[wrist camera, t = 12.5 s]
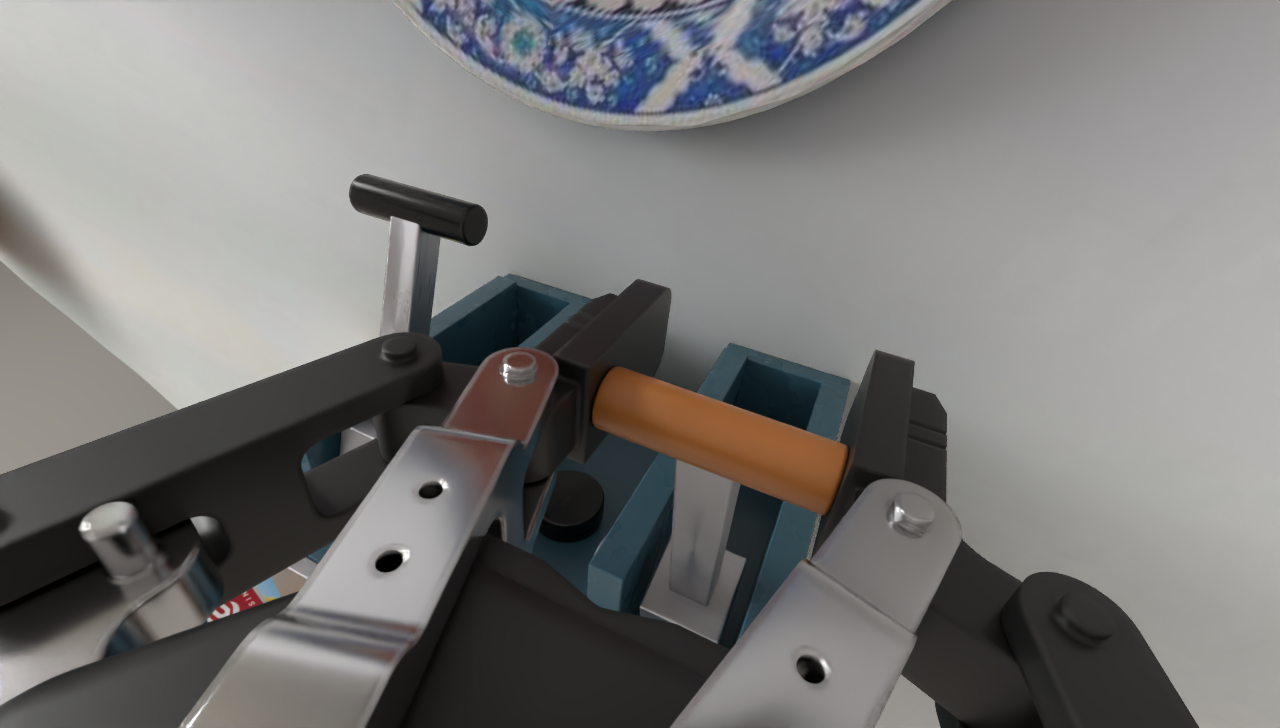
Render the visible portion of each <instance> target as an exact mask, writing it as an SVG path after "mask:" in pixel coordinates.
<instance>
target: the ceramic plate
mask: <svg viewBox="0 0 1280 728" xmlns="http://www.w3.org/2000/svg"><path fill="white" fill-rule="evenodd" d="M392 1H393V2H394V3H395V5H396V6H397V7H398V8H399V9H400V10H401V11H402V12H403V14H404V15H405V16H406V17H407V18H408V19H409V20H410V21H411V22H412V23H413V24H414V25H415V26H416V27H417V28H418V29H419V30H420V31H421V32H422V33H423V34H424V35H425V36H426V37H427V38H428V39H430V40H431V41H432V42H433V43H434V44H435V45H436V46H437V47H438V48H439V49H440V50H442V51H443V52H444V53H445V54H447V55H448V56H449V57H450V58H452V59H453V60H454V61H455V62H457V63H458V64H459V65H460V66H462V67H463V68H464V69H466V70H467V71H469V72H470V73H472V74H473V75H475V76H476V77H478V78H479V79H481V80H482V81H484V82H485V83H487V84H488V85H490V86H491V87H493V88H494V89H496V90H498V91H500V92H502V93H504V94H506V95H508V96H510V97H512V98H514V99H515V100H517V101H519V102H521V103H523V104H525V105H528V106H530V107H533V108H535V109H538V110H540V111H543V112H546V113H548V114H551V115H553V116H556V117H560V118H563V119H567V120H571V121H574V122H578V123H582V124H585V125H591V126H597V127H604V128H610V129H616V130H632V131H667V130H681V129H692V128H697V127H703V126H708V125H714V124H719V123H724V122H729V121H733V120H736V119H739V118H743V117H746V116H749V115H753V114H756V113H760V112H763V111H766V110H769V109H772V108H774V107H777V106H779V105H782V104H784V103H786V102H789V101H791V100H794V99H796V98H798V97H801V96H803V95H806V94H808V93H811V92H813V91H815V90H816V89H818V88H820V87H822V86H824V85H825V84H827V83H829V82H831V81H833V80H834V79H836V78H838V77H840V76H842V75H843V74H845V73H847V72H849V71H851V70H852V69H854V68H856V67H858V66H860V65H861V64H863V63H865V62H867V61H868V60H870V59H871V58H873V57H874V56H876V55H878V54H879V53H881V52H882V51H884V50H885V49H887V48H888V47H890V46H892V45H893V44H895V43H896V42H898V41H899V40H901V39H902V38H904V37H905V36H907V35H908V34H909V33H910V32H912V31H913V30H914V29H916V28H917V27H918V26H920V25H921V24H922V23H923V22H925V21H926V20H927V19H929V18H930V17H931V16H932V15H934V14H935V13H936V12H938V11H939V10H940V9H941V8H943V7H944V6H945V5H947V4H948V3H949V2H951V1H952V0H392Z"/></svg>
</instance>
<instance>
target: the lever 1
mask: <svg viewBox="0 0 1280 728" xmlns="http://www.w3.org/2000/svg"><path fill="white" fill-rule="evenodd" d="M349 198H350V202H351V204H352V206H353V207H354V208H355V209H356V210H357V211H358V212H360V213H362V214H366V215H369V216H372V217H376V218H379V219H382V220H385V221H389V222H390V231H389V242H388V253H387V264H386V275H385V286H384V297H383V308H382V319H381V330H380V337H381V336H384V335H388V334H392V333H399V332H415V333H421V334H425V335H428V336H429V331H430V323H431V314H432V306H433V298H434V289H435V281H436V272H437V264H438V255H439V247H440V238H444V239H448V240H451V241H454V242H457V243H461V244H464V245H467V246H475V245H477V244H479V243H480V242H481V241H482V239H483V238H484V236H485V234H486V231H487V227H488V217H487V213H486V211H485V210H484V208H483V207H481V206H480V205H478V204H474V203H471V202H467V201H463V200H460V199H456V198H453V197H449V196H445V195H442V194H438V193H435V192H431V191H427V190H424V189H420V188H417V187H413V186H410V185H406V184H402V183H399V182H395V181H392V180H388V179H384V178H381V177H377V176H374V175H370V174H363V175H360V176H358V177H356V178H355V179H354V181H353V182H352V184H351V186H350V190H349ZM376 438H377V435H376V430H375V426H374V422H373V417H372V418H370V419H368V420H366V421H364V422H361V423H359V424H357V425H355V426H353V427H350V428H348V429H346V430H344V431H341V443H340V455H342V454H344V453H346V452H349V451H351V450H353V449H355V448H357V447H359V446H361V445H363V444H365V443H367V442H369V441H371V440H373V439H376Z"/></svg>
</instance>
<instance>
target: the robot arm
mask: <svg viewBox="0 0 1280 728" xmlns="http://www.w3.org/2000/svg"><path fill="white" fill-rule="evenodd" d="M670 304H671V290H670V288H667V287H664V286H660V285H657V284H654V283H650V282H647V281H644V280H640V279H637V280H635V281H634V282H633V283H632V284H631V285H630V286H629V287H628V288H626V289H625V290H624V291H623V292H622V293H621V294H620V295H619V296H617V295H614V294H611V293H609V294H606V295H604V296H601V297H598V298H595V299H592V300H590V301H589V302H588V303H586V304H585V305H584V306H583V307H582V308H581V309H579V310H578V312H577V314H576V313H575V314H573V315H572V316H571V317H570V318H569V319H568V320H567V322H564V323H563V324H562V325H560V326H559V327H558V328H557V329H556V330H555V331H553V332H552V333H551V334H550V335H549V336H547V337H546V338H545V339H544V340H543V341H542V342H540V343H539V344H538V345H537V346H536V347H534V348H527V347H514V348H507V349H503V350H500V351H497V352H495V353H493V354H491V355H489V356H488V357H487V358H486V359H485V360H484V361H483V362H482V363H481V365H480V366H475V365H467V364H459V363H451V362H443V361H442V353H441V347H440V344H439V343H438V342H437V341H436V340H435V339H434V338H432V337H430V336H428V335H425V334H421V333H415V332H399V333H392V334H388V335H384V336H381V337H378V338H376V339H373V340H370V341H367V342H365V343H362V344H359V345H356V346H354V347H351V348H348V349H345V350H343V351H340V352H337V353H334V354H332V355H329V356H326V357H323V358H321V359H318V360H315V361H312V362H310V363H307V364H304V365H301V366H299V367H296V368H293V369H290V370H287V371H285V372H282V373H279V374H276V375H274V376H271V377H268V378H265V379H263V380H260V381H257V382H254V383H252V384H249V385H246V386H243V387H241V388H238V389H235V390H232V391H230V392H227V393H224V394H221V395H219V396H216V397H213V398H210V399H208V400H205V401H202V402H199V403H197V404H194V405H191V406H188V407H186V408H183V409H180V410H177V411H175V412H172V413H169V414H166V415H164V416H161V417H158V418H155V419H153V420H150V421H147V422H144V423H142V424H139V425H136V426H133V427H131V428H128V429H125V430H122V431H120V432H117V433H114V434H111V435H109V436H106V437H103V438H100V439H98V440H95V441H92V442H89V443H87V444H84V445H81V446H79V447H76V448H73V449H70V450H67V451H65V452H62V453H59V454H56V455H54V456H51V457H48V458H45V459H42V460H40V461H37V462H34V463H31V464H29V465H26V466H23V467H20V468H18V469H15V470H12V471H9V472H7V473H4V474H1V475H0V728H874V727H875V725H876V723H877V721H878V719H879V717H880V715H881V713H882V711H883V709H884V707H885V705H886V703H887V701H888V699H889V697H890V695H891V693H892V691H893V689H894V687H895V685H896V683H897V680H898V678H899V676H900V674H902V675H903V676H904V677H905V678H907V679H908V680H909V681H910V682H912V683H913V684H914V685H916V686H917V687H918V688H919V689H921V690H922V691H923V692H924V693H926V694H927V695H928V696H929V697H931V698H932V699H933V700H935V707H936V712H937V716H938V720H939V723H940V727H941V728H1199V726H1198V725H1197V723H1196V722H1195V720H1194V718H1193V717H1192V715H1191V713H1190V712H1189V710H1188V709H1187V707H1186V705H1185V704H1184V702H1183V701H1182V699H1181V697H1180V696H1179V694H1178V692H1177V691H1176V689H1175V688H1174V686H1173V684H1172V683H1171V681H1170V680H1169V678H1168V676H1167V675H1166V673H1165V671H1164V670H1163V668H1162V667H1161V665H1160V663H1159V662H1158V660H1157V659H1156V657H1155V655H1154V654H1153V652H1152V651H1151V649H1150V647H1149V646H1148V644H1147V642H1146V641H1145V639H1144V638H1143V636H1142V634H1141V633H1140V631H1139V630H1138V628H1137V627H1136V625H1135V624H1134V623H1133V621H1132V620H1131V619H1130V618H1129V617H1128V615H1127V614H1126V613H1125V612H1124V611H1123V610H1122V609H1121V608H1120V607H1119V606H1118V605H1117V604H1115V603H1114V602H1113V601H1112V600H1110V599H1109V598H1108V597H1107V596H1105V595H1104V594H1102V593H1101V592H1099V591H1098V590H1097V589H1095V588H1093V587H1091V586H1090V585H1088V584H1086V583H1084V582H1082V581H1080V580H1077V579H1075V578H1072V577H1070V576H1067V575H1063V574H1059V573H1053V572H1038V573H1035V574H1032V575H1030V576H1028V577H1027V578H1026V579H1025V580H1024V581H1023V582H1021V581H1019V580H1018V579H1016V578H1014V577H1013V576H1011V575H1010V574H1008V573H1006V572H1005V571H1003V570H1002V569H1000V568H998V567H997V566H995V565H994V564H992V563H990V562H989V561H987V560H986V559H984V558H983V557H982V556H980V555H979V554H978V553H976V552H975V551H974V550H973V549H971V548H970V547H969V546H968V545H967V544H966V543H965V542H964V541H963V540H962V528H961V524H960V522H959V520H958V518H957V516H956V515H955V513H954V512H953V510H952V509H951V508H950V507H949V506H948V505H947V504H946V463H947V450H946V447H947V435H946V432H947V413H946V411H945V410H944V408H943V406H942V405H941V403H940V401H939V400H938V398H937V397H936V395H935V394H933V393H929V392H926V391H923V390H920V389H916V388H913V387H912V386H913V376H914V365H915V362H914V361H912V360H909V359H905V358H902V357H899V356H895V355H892V354H889V353H885V352H882V351H879V350H875V351H874V353H873V355H872V358H871V360H870V362H869V365H868V367H867V370H866V372H865V375H864V377H863V380H862V382H861V385H860V387H859V390H858V392H857V395H856V397H855V400H854V402H853V405H852V407H851V410H850V413H849V415H848V418H847V421H846V424H845V427H844V430H843V433H842V436H841V440H840V443H842V444H845V445H847V446H848V447H849V455H848V460H847V464H846V467H845V471H844V474H843V477H842V480H841V483H840V486H839V489H838V492H837V495H836V497H835V500H834V502H833V505H832V507H831V509H830V511H829V512H828V513H827V515H822V516H821V520H820V524H819V528H818V532H817V536H816V540H815V544H814V548H813V552H812V556H811V560H810V561H809V560H807V559H806V558H805V559H803V560H802V561H801V562H799V564H798V565H797V566H796V567H795V568H794V569H793V571H792V572H791V573H790V574H789V576H788V577H787V578H786V580H785V581H784V582H783V583H782V585H781V586H780V587H779V589H778V590H777V591H776V592H775V594H774V595H773V596H772V597H771V599H770V600H769V601H768V603H767V604H766V605H765V606H764V608H763V609H762V610H761V612H760V613H759V614H758V615H757V617H756V618H755V619H754V620H753V622H752V623H751V624H750V626H749V627H748V628H747V629H746V631H745V632H744V633H743V635H742V636H741V637H740V638H739V640H738V641H737V642H736V643H735V645H734V646H733V647H732V649H731V650H730V649H728V648H726V647H724V646H721V645H719V644H717V643H715V642H713V641H711V640H709V639H707V638H705V637H703V636H701V635H699V634H696V633H694V632H692V631H690V630H688V629H686V628H684V627H682V626H680V625H678V624H675V623H671V622H666V621H661V620H656V619H652V618H647V617H642V616H638V615H633V614H628V613H624V612H619V611H614V610H610V609H606V608H602V607H600V606H598V605H596V604H595V603H593V602H592V601H591V600H590V599H589V598H588V597H586V596H585V595H584V594H583V593H582V592H581V591H579V590H578V589H577V588H576V587H575V586H574V585H573V584H571V583H570V582H569V581H568V580H567V579H566V578H564V577H563V576H562V575H561V574H560V573H559V572H557V571H556V570H555V569H554V568H553V567H552V566H551V565H549V564H548V563H547V562H546V561H545V560H543V559H540V558H538V557H536V556H534V555H532V554H531V551H532V549H533V546H534V543H535V540H536V537H537V534H538V532H539V529H540V526H541V523H542V520H543V518H544V515H545V512H546V509H547V506H548V503H549V501H550V498H551V495H552V492H553V489H554V487H555V484H556V480H557V468H558V467H559V465H560V464H561V463H562V462H563V461H564V459H565V458H569V459H571V460H573V461H576V462H578V463H581V464H583V465H584V464H585V463H586V462H587V460H588V459H589V458H590V456H591V455H592V454H593V453H594V451H595V450H596V449H597V448H598V446H599V445H600V444H601V442H602V441H603V440H604V439H605V437H606V436H607V435H608V432H605V431H602V430H600V429H597V428H596V427H595V426H594V425H593V422H592V409H593V404H594V400H595V397H596V394H597V391H598V389H599V386H600V384H601V382H602V381H603V379H604V377H605V376H606V374H607V373H608V372H609V371H610V370H611V369H612V368H613V367H616V366H621V367H624V368H627V369H629V370H632V371H635V372H638V373H641V374H644V375H647V376H650V377H653V376H654V374H655V373H656V371H657V369H658V367H659V364H660V362H661V359H662V356H663V352H664V346H665V339H666V332H667V325H668V318H669V311H670ZM372 417H373V422H374V426H375V430H376V435H377V438H376V439H373V440H371V441H369V442H367V443H365V444H363V445H361V446H359V447H357V448H355V449H353V450H351V451H349V452H346V453H344V454H342V455H340V456H338V457H336V458H334V459H332V460H330V461H328V462H326V463H324V464H321V465H319V466H317V467H315V468H313V469H311V470H309V471H307V472H304V473H303V470H302V467H301V463H302V459H303V457H304V455H305V453H306V452H307V451H308V450H309V449H310V448H311V447H312V446H313V445H315V444H316V443H318V442H320V441H322V440H324V439H326V438H328V437H330V436H333V435H335V434H337V433H339V432H341V431H344V430H346V429H348V428H350V427H353V426H355V425H357V424H359V423H361V422H364V421H366V420H368V419H370V418H372ZM333 541H334V542H333ZM331 542H333V544H332V545H331V547H330V548H329V549H328V551H327V552H326V554H325V555H324V556H323V558H322V559H321V561H320V562H319V564H318V565H317V566H316V568H315V569H314V571H313V572H312V573H311V575H310V576H309V578H308V579H307V581H306V582H305V583H304V585H303V586H302V588H301V589H300V590H299V591H297V592H294V593H292V594H289V595H286V596H283V597H280V598H277V599H274V600H271V601H268V602H266V603H263V604H260V605H257V606H254V607H251V608H248V609H245V610H242V611H240V612H237V613H234V614H231V615H228V616H225V617H222V618H219V619H217V620H214V621H211V622H208V621H207V619H208V618H209V617H210V616H211V615H212V613H213V612H214V611H215V609H216V608H218V607H220V606H222V605H223V604H225V603H227V602H229V601H230V600H232V599H234V598H236V597H237V596H239V595H241V594H243V593H244V592H246V591H248V590H250V589H251V588H253V587H255V586H256V585H258V584H260V583H262V582H263V581H265V580H267V579H269V578H270V577H272V576H274V575H276V574H277V573H279V572H281V571H283V570H284V569H286V568H288V567H290V566H291V565H293V564H295V563H297V562H298V561H300V560H302V559H304V558H305V557H307V556H309V555H311V554H312V553H314V552H316V551H318V550H319V549H321V548H323V547H325V546H326V545H328V544H330V543H331Z"/></svg>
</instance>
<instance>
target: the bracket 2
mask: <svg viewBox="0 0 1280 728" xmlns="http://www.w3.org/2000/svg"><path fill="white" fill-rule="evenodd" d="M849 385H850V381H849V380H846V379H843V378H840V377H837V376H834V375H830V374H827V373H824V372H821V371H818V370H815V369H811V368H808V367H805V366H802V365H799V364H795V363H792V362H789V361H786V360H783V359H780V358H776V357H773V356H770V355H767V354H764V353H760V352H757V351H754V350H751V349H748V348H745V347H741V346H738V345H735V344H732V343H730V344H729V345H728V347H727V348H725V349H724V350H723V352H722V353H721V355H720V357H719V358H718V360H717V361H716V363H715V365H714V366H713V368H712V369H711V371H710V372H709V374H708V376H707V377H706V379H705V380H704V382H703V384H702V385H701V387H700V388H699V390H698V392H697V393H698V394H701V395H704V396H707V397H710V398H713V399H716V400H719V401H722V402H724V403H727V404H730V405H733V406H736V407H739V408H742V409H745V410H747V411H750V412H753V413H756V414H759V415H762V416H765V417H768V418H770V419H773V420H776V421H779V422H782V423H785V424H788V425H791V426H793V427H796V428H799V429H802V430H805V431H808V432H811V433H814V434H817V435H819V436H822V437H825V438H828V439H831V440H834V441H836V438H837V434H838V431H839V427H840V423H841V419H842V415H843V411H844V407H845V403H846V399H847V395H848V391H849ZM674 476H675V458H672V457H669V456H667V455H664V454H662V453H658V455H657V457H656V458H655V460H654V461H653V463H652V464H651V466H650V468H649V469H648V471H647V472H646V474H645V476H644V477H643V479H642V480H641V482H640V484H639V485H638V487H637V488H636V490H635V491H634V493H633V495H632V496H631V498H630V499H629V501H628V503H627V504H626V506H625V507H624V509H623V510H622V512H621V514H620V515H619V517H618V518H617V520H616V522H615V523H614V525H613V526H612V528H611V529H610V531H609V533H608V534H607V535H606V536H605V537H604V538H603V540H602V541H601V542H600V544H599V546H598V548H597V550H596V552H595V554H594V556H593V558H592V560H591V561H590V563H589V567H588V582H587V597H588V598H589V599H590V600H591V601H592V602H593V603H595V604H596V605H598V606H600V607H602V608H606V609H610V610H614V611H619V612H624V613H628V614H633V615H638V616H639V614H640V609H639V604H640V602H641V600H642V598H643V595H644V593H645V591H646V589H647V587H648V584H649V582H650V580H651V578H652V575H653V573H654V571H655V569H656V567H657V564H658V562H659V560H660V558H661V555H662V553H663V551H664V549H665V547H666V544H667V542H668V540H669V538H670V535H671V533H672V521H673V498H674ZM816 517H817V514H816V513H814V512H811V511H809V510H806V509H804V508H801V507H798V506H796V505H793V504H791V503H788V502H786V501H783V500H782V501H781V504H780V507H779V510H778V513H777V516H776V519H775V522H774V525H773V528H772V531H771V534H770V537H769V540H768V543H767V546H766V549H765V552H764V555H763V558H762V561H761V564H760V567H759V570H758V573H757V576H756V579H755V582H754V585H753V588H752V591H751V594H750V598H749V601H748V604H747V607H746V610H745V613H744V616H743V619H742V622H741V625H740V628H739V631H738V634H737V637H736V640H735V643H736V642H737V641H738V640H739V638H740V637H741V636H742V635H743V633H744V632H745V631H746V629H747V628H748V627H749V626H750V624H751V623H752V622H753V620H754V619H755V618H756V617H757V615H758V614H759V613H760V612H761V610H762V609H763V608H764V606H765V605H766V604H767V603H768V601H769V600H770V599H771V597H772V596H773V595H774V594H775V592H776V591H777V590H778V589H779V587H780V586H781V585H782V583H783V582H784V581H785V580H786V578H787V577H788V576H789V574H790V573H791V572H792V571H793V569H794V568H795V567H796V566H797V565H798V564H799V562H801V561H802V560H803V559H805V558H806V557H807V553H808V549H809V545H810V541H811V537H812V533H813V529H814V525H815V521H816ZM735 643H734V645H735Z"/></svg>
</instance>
